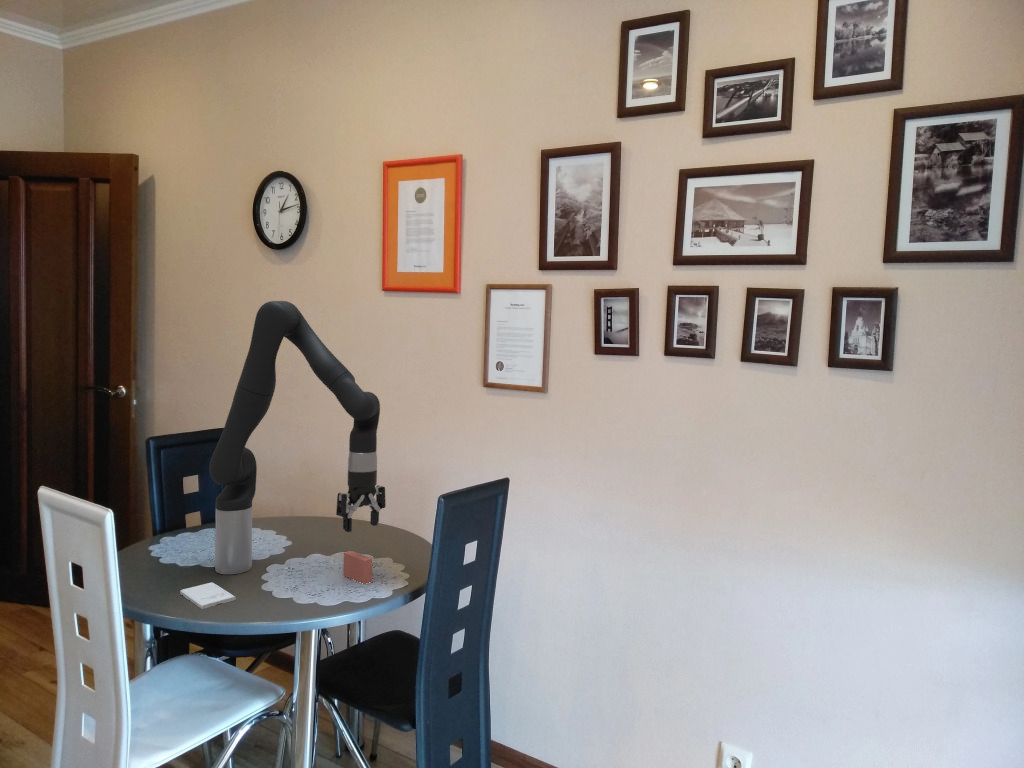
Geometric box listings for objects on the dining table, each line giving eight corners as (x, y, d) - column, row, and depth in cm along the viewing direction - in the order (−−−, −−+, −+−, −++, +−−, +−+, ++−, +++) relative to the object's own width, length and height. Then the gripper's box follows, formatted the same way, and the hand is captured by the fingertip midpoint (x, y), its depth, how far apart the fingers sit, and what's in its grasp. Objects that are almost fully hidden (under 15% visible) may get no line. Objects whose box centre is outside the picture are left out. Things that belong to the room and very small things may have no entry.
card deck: (343, 576, 185) (343, 552, 184) (350, 573, 187) (351, 550, 186) (364, 584, 179) (364, 560, 179) (371, 582, 181) (372, 558, 181)
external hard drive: (213, 588, 175) (235, 602, 167) (180, 596, 169) (201, 611, 161) (213, 581, 175) (235, 595, 166) (180, 590, 169) (201, 604, 160)
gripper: (374, 462, 188) (373, 520, 190) (331, 469, 177) (329, 530, 179) (392, 466, 184) (391, 526, 185) (348, 473, 173) (347, 536, 174)
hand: (361, 528), depth 182 cm, fingers open, 8 cm apart
